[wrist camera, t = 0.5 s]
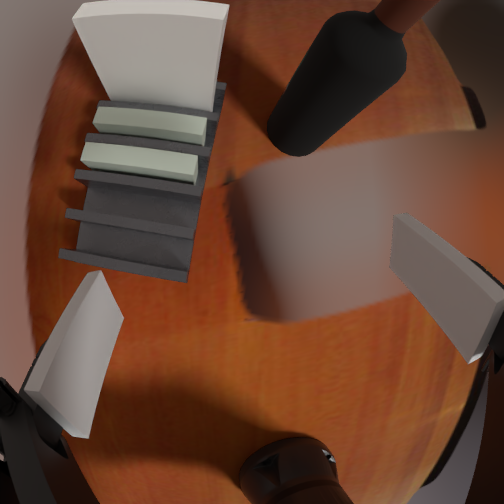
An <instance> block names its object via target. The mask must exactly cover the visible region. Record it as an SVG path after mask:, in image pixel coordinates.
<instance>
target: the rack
mask: <svg viewBox="0 0 504 504" xmlns="http://www.w3.org/2000/svg"><path fill="white" fill-rule="evenodd" d="M226 84H227V83H222V82H216V89H215V96H214V103H213V111H212V112H209V111H203V110H196V109H190V108H183V107H175V106H167V105H158V104H148V103H137V102H123V101H103V100H99V103H98V105H97V109H98V107H117V108H131V109H143V110H153V111H162V112H170V113H178V114H185V115H192V116H198V117H204V118H207V125H206V137H205V143H204V147H203V146H197V145H191V144H185V143H178V142H171V141H164V140H156V139H148V138H140V137H130V136H120V135H109V134H96V133H87V135H86V138H85V142H93V143H105V144H115V145H125V146H134V147H143V148H151V149H158V150H165V151H172V152H179V153H185V154H192V155H198V174H197V179H196V184H195V185H190V184H184V183H178V182H171V181H165V180H158V179H151V178H145V177H137V176H130V175H123V174H115V173H107V172H98V171H89V170H80V169H76V171H75V175H74V179H76V180H77V181H79V182H80V183H82V184H84V185H85V186H87V187H88V190H87V194H86V199H85V203H84V208H83V210H77V209H70V208H67V209H66V214H65V218H68V219H72V220H75V221H79V222H81V223H80V229H79V234H78V241H77V247H76V249H66V248H60V250H59V257H58V258H62V259H66V260H71V261H75V262H78V263H83V264H88V265H93V266H98V267H103V268H108V269H113V270H118V271H123V272H128V273H133V274H139V275H144V276H150V277H155V278H161V279H167V280H172V281H178V282H184V283H187V282H188V275H189V269H190V262H191V256H192V250H193V244H194V238H195V232H196V227H197V221H198V216H199V210H200V205H201V200H202V195H203V190H204V185H205V180H206V175H207V170H208V166H209V161H210V156H211V152H212V147H213V143H214V139H215V134H216V130H217V126H218V122H219V117H220V113H221V109H222V105H223V100H224V94H225V89H226Z"/></svg>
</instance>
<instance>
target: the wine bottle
mask: <svg viewBox="0 0 504 504" xmlns="http://www.w3.org/2000/svg"><path fill="white" fill-rule="evenodd" d="M439 1H440V0H382V1H381V2H380V3H379V5H378V6H377V7H376V8H375V9H374V10H372V11H371V12H369V13H366V12H360V11H346V12H341V13H337V14H335V15H334V16H332V17H330V18H329V19H328V20H327V21H326V22H325V24H324V25H323V27H322V28H321V30H320V32H319V33H318V35H317V37H316V38H315V40H314V41H313V43H312V45H311V46H310V48H309V50H308V51H307V53H306V55H305V56H304V58H303V60H302V61H301V63H300V65H299V66H298V68H297V70H296V71H295V73H294V75H293V77H292V78H291V80H290V82H289V84H288V85H287V87H286V89H285V91H284V92H283V94H282V96H281V98H280V99H279V101H278V103H277V105H276V106H275V108H274V110H273V112H272V114H271V115H270V118H269V120H268V122H267V132H268V135H269V138H270V140H271V141H272V143H273V144H274V146H275V147H277V148H278V149H279V150H280V151H281V152H284V153H286V154H288V155H291V156H298V157H300V156H306V155H308V154H310V153H312V152H314V151H315V150H316V149H317V148H318V147H319V146H321V145H322V144H323V143H324V142H325V141H326V140H328V139H329V138H330V137H331V136H332V135H333V134H335V133H336V132H337V131H338V130H339V129H341V128H342V127H343V126H344V125H345V124H346V123H348V122H349V121H350V120H351V119H352V118H354V117H355V116H356V115H357V114H358V113H360V112H361V111H362V110H363V109H365V108H366V107H367V106H368V105H369V104H371V103H372V102H373V101H374V100H375V99H377V98H378V97H379V96H380V95H382V94H383V93H384V92H385V91H387V90H388V89H389V88H390V87H392V86H393V85H394V84H395V83H397V82H398V80H399V79H400V78H401V77H402V75H403V74H404V72H405V71H406V60H407V53H406V50H405V47H404V44H403V41H402V38H403V36H404V34H405V33H406V31H407V30H408V29H409V28H411V27H412V26H413V25H414V24H415V23H416V22H417V21H418V20H419V19H420V18H421V17H422V16H423V15H425V13H427V12H428V11H429V10H430V9H431V8H432V7H433V6H435V5H436V4H437V3H438V2H439Z"/></svg>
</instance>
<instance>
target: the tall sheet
mask: <svg viewBox="0 0 504 504" xmlns="http://www.w3.org/2000/svg"><path fill="white" fill-rule="evenodd" d="M228 10H229V5H227V4H220V3H213V2H204V1H194V0H108V1H98V2H90V3H83V4H82V6H81V7H80V8H79V10H78V11H77V12H76V14H75V15H74V16H73V18H72V21H73V23H74V25H75V27H76V30H77V32H78V34H79V36H80V38H81V41H82V43H83V45H84V47H85V49H86V51H87V53H88V55H89V58H90V60H91V62H92V64H93V66H94V68H95V70H96V72H97V74H98V76H99V78H100V80H101V82H102V84H103V86H104V88H105V90H106V92H107V94H108V96H109V98H110V100H111V101H123V102H137V103H148V104H158V105H167V106H175V107H183V108H190V109H196V110H203V111H209V112H212V111H213V103H214V96H215V89H216V82H217V75H218V68H219V62H220V55H221V49H222V43H223V37H224V32H225V26H226V21H227V15H228Z"/></svg>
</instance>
